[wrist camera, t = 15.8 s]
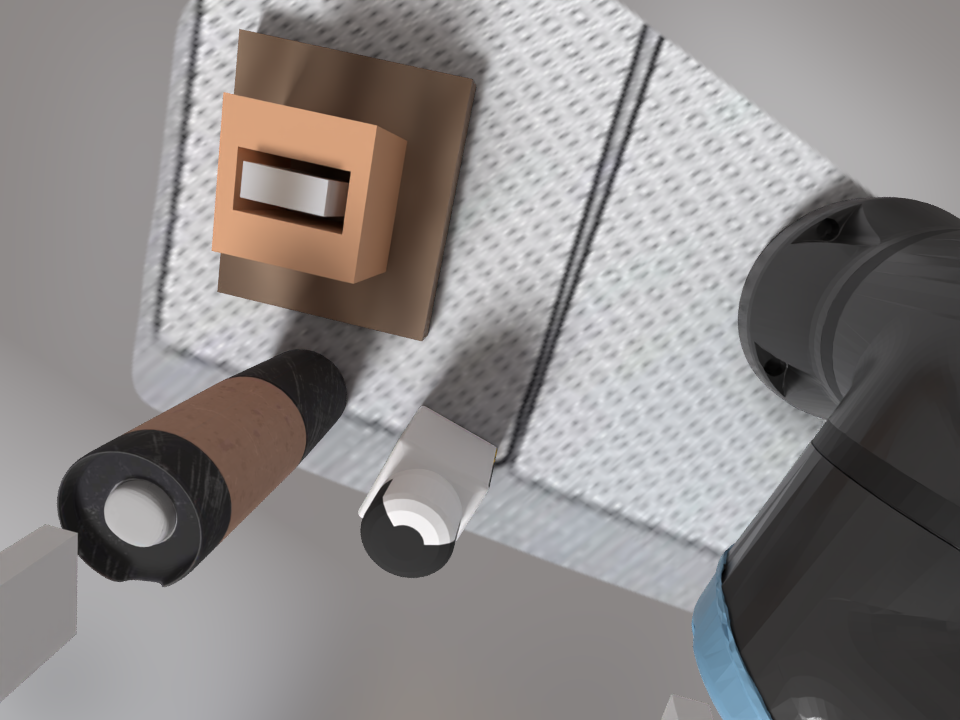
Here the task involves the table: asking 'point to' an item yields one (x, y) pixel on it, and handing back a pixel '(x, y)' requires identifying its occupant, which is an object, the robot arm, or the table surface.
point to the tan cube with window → (296, 236)
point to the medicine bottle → (425, 495)
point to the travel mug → (197, 468)
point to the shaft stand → (324, 190)
